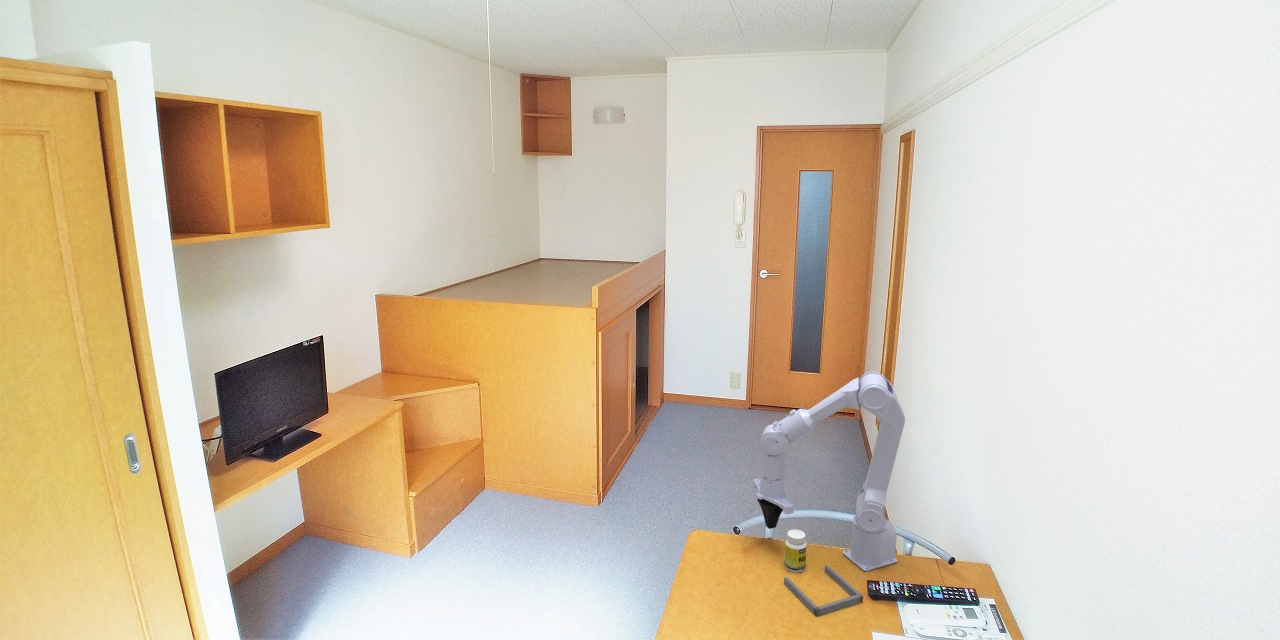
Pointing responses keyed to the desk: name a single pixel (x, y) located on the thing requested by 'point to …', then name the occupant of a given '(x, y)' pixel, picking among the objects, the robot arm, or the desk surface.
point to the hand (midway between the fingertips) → (771, 526)
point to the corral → (832, 606)
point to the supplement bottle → (795, 551)
